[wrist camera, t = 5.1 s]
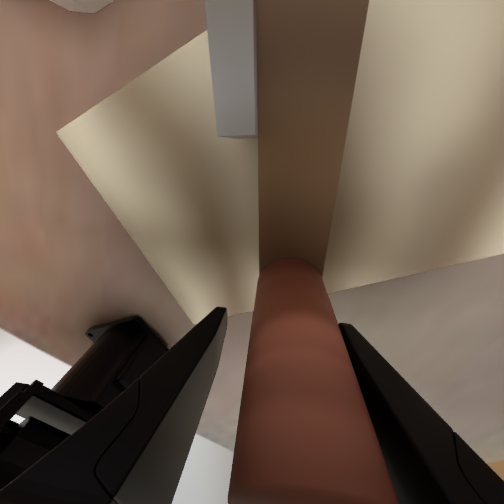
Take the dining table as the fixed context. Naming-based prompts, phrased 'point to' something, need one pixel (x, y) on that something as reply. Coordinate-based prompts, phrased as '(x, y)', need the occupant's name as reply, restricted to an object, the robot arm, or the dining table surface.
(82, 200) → the dining table surface
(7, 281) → the dining table surface
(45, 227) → the dining table surface
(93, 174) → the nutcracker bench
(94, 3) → the white mug
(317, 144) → the lever
